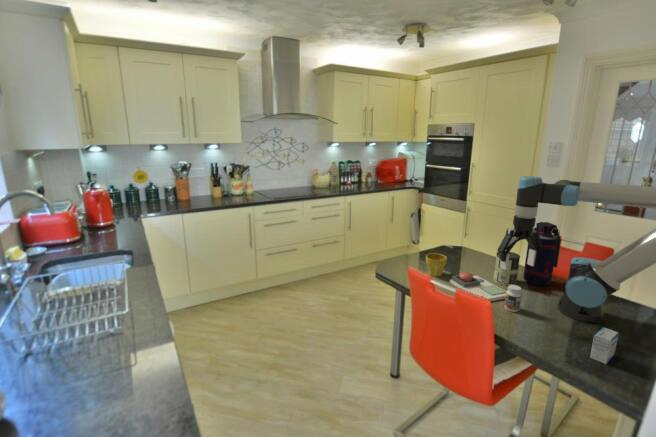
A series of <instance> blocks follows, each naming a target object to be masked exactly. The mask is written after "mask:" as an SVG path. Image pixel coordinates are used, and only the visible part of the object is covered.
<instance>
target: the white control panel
mask: <svg viewBox="0 0 656 437" xmlns="http://www.w3.org/2000/svg"><path fill="white" fill-rule="evenodd" d="M459 276H460V274H457V275H456V274H455V275H452V276H451V279H449V283H450V284H451V285H453V286H455V287H456V288H458V289H459V288H461V289H463V290H465V291H468V292H471V293H473V294H476V295H479V296H483V297H485V298H487V299H489V300H490V302H495V301H500V300H505V297H506V292H507V290H505V289H503V288H500V287H498V286H497V285H495V284H493V283H492V282H490V281H488V280H486V279H484V278H482V277H480V276H479V275H473V281H471V282H463V281H462V280H460V279H459ZM461 289H460V290H461ZM463 290H462V291H463Z"/></svg>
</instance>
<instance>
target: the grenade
mask: <svg viewBox="0 0 656 437" xmlns="http://www.w3.org/2000/svg"><path fill="white" fill-rule="evenodd" d="M535 227H538V228H539V236H540V240H541V244H542V248H541V249H540V251H537V255H536V258H535V263H534V266H531V265H528V264H527V261H528V254H529V249H531V247H530V245H529V244H528V243H527V247H526V255H525V263H524V269H523V270H524V271H523V274H522V275H523V276H522V278H523V280H525V281H526V282H528V283H530V285H531V286H534V287H537V286H550V284H551V283H552V279H553V272H554V268H558V265H559V264H558V263H559V256H560V250H561V249H560V248H561V242H562V239H561V236H560V235H561V230H560V229H559V228H558V226H557V225H556V224H554V223H551V222H548V221H540V222H535ZM531 235H532V233H531Z"/></svg>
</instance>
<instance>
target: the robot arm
mask: <svg viewBox="0 0 656 437" xmlns="http://www.w3.org/2000/svg"><path fill="white" fill-rule="evenodd" d="M515 199H516V200H515V207H514V213H513V214H514V216H513V219H512V220H513V221H512V225H513V226H514V228H507V229H506V232H505V235H504V237H503V238H502V240H501V242H500V244H499V246H498V247H497V250H496V252H501V268H502V269H505V270H507V268H508V261H509V254H508V253H509V252H511V250H512V249H513V248H514V247H515V245H516V244H517V243H518V242H520V241H522V240H526V242H527V245H528V244H529V245H530V247H531V249H529V254H528V261H527V264H528V265H531V266H534V263H535V258H536V255H537V251H540V249H541V248H542V244H541V240H540V236H539V228H538V227H537V226H536V221H537V219H536V217H537V215H538V209H539V204H548V205H556V206H564V207H575V206H577V205H578V202H582V203H583V202H584V203H592V204H593V203H595V204H605V205H614V206H615V205H616V206H624V207H634V208H645V209H655V210H656V186H649V185H648V186H647V185H632V184H621V183H620V184H618V183H617V184H616V183H604V182H587V181H571V180H568V179H561V180H557V181H556V182H554V183H545V182H543V179H542V177H539V176H530V175H529V176H528V175H527V176H526V175H525V176H521V177H520V178H519V181H518V187H517V194H516V198H515ZM531 233H532V235H531ZM569 264H570V267H569V270H568V277H567V280H566V283H565V292H564V293H563V295H562V296H561V298H560V299H559V300H558V303H557V310H558V311H559V312H560V313H561V314H563V315H565V316H567V317H569V318H571V319H574V320H576V321H577V320H578V321H582V322H586V323H587V322H588V323H598V322H601V321H602V320H604V316H605V315H604V314H605V313H604V307H603V304H604V303H605V301H606V300H607V298H608V297H609V296H611V295H612V294H614V293H616V292H618V291H620V289H621V284H622V283H624V282H625V281H627V280H629V279H630V278H632V277H634V276H636V275H638V274H639V273H641V272H643V271H645V270H646V269H648V268H650V267H651V266H653V265H655V264H656V227H655V228H654V229H652V230H650V231H649V232H647V233H646V234H644V235H643V236H641V237H640V238H638V239H636V240H634V241H633V242H631V243H630V244H628V245H626V246H625V247H624V248H622V249H620V250H618V251H616V252H615V253H614V254H612V255H611V256H609V257H607V258H606V259H604V260H602V261H601V260H599V259H593V258H589V257H581V256H580V257H579V256H574V257H573V258H571V261H570V263H569Z"/></svg>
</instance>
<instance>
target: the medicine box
mask: <svg viewBox="0 0 656 437" xmlns="http://www.w3.org/2000/svg"><path fill="white" fill-rule="evenodd" d="M619 334H620V333H619V332H618V331H616V330H612V329H610V328H606V327H602V328H601V329H600V330H599V331H597V333H595V334H594V336H593V340H592V345H591V351H590V359H593V360H594V361H597V362H600V363H602V364H603V365H607V364H608V363H609V362H610V360H612V358H613V357H614V356H615V353H616V348H617V344H618V341H619V336H620V335H619Z"/></svg>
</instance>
